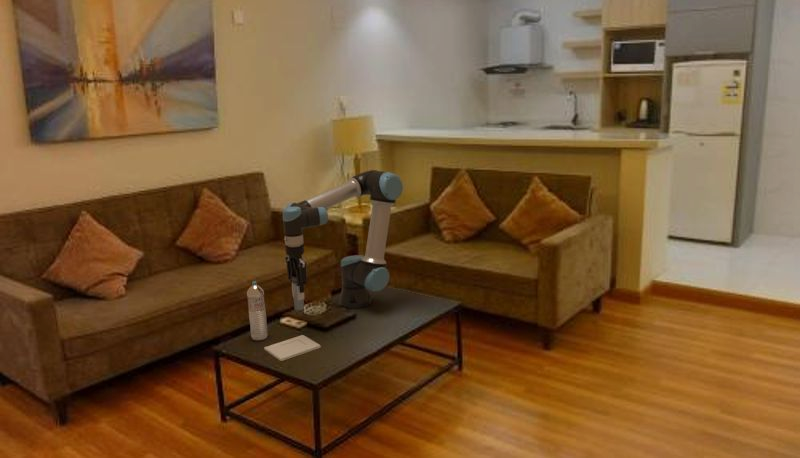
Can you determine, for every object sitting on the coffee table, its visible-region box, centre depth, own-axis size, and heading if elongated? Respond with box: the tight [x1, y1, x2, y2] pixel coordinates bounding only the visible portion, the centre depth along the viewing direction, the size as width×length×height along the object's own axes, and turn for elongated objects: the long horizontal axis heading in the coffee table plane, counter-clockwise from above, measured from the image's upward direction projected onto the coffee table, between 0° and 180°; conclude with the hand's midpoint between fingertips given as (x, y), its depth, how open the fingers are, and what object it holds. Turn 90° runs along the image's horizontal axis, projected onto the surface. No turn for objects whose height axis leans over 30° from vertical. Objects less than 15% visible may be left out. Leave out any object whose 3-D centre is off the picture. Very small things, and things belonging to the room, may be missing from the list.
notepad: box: [263, 334, 321, 362], centre depth 253 cm, size 18×14×1 cm
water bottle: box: [246, 280, 269, 342], centre depth 262 cm, size 7×7×25 cm
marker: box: [291, 276, 305, 311], centre depth 262 cm, size 4×4×14 cm
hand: (298, 298), depth 263 cm, fingers closed on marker, 4 cm apart
